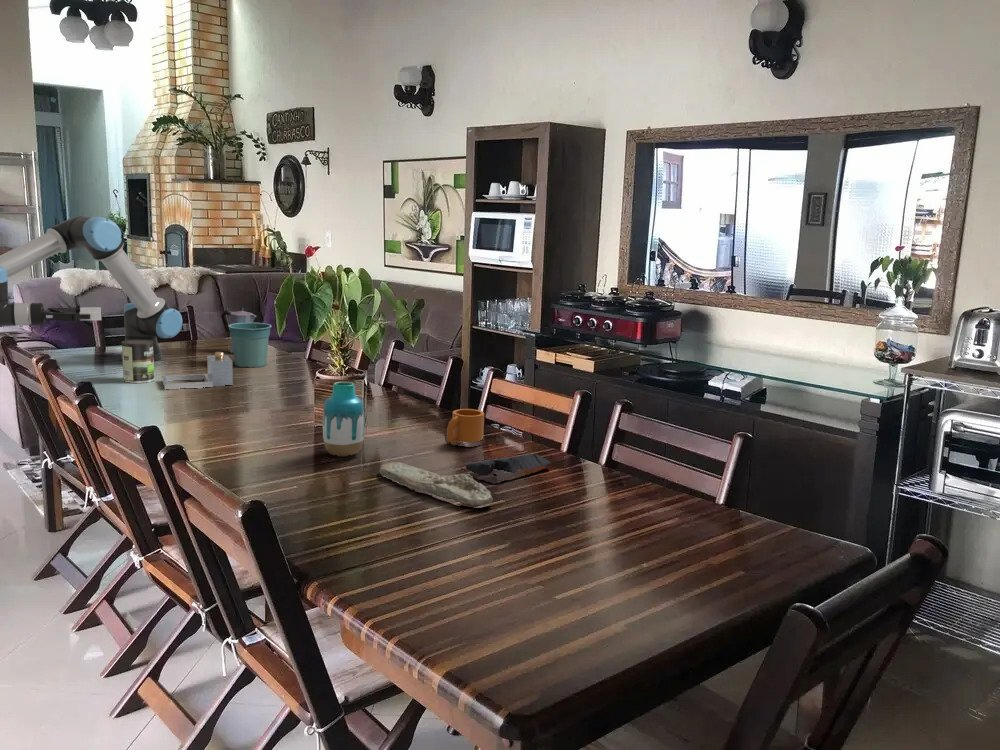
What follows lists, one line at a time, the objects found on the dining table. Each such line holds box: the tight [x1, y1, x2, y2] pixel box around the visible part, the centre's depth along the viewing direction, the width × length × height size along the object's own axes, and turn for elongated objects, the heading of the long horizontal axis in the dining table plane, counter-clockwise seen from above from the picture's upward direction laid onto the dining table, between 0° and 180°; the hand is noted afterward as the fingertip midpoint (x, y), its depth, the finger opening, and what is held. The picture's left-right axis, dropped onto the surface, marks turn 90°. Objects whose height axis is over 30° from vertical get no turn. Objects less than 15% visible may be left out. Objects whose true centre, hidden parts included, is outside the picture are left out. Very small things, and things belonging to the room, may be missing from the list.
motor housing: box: [161, 351, 234, 391], centre depth 286 cm, size 15×22×11 cm
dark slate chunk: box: [466, 453, 551, 475], centre depth 205 cm, size 15×22×5 cm
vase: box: [322, 381, 365, 457], centre depth 210 cm, size 11×11×19 cm
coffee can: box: [120, 340, 155, 384], centre depth 288 cm, size 10×10×14 cm
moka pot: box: [221, 306, 257, 355], centre depth 348 cm, size 10×15×20 cm, turn 89°
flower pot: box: [228, 322, 272, 369], centre depth 323 cm, size 16×16×16 cm
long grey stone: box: [378, 461, 494, 505], centre depth 188 cm, size 35×5×10 cm
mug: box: [446, 408, 485, 442], centre depth 226 cm, size 9×12×9 cm
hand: (101, 313), depth 279 cm, fingers open, 13 cm apart
